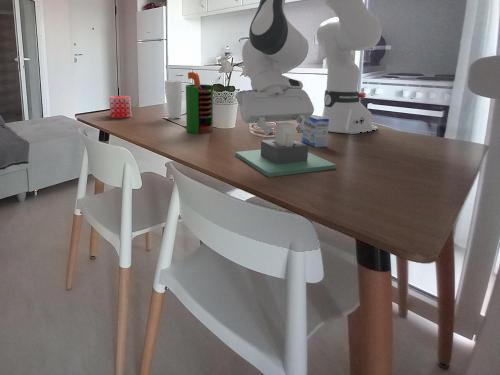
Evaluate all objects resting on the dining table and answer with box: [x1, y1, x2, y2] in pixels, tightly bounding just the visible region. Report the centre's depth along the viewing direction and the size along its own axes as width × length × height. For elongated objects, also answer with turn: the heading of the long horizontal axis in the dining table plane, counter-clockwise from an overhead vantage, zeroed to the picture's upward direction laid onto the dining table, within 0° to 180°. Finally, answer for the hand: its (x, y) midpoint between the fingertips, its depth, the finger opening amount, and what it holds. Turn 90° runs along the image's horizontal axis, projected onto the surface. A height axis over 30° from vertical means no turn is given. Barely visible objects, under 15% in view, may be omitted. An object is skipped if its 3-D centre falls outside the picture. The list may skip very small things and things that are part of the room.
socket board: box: [235, 139, 337, 178], centre depth 97 cm, size 19×20×5 cm
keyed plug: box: [274, 121, 296, 147], centre depth 96 cm, size 4×4×9 cm
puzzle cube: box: [108, 95, 132, 119], centre depth 157 cm, size 8×8×8 cm
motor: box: [185, 71, 214, 135], centre depth 129 cm, size 10×9×20 cm
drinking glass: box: [164, 79, 183, 119], centre depth 153 cm, size 7×7×15 cm
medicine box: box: [301, 114, 329, 148], centre depth 116 cm, size 8×4×9 cm, turn 23°
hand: (286, 133), depth 95 cm, fingers open, 8 cm apart
